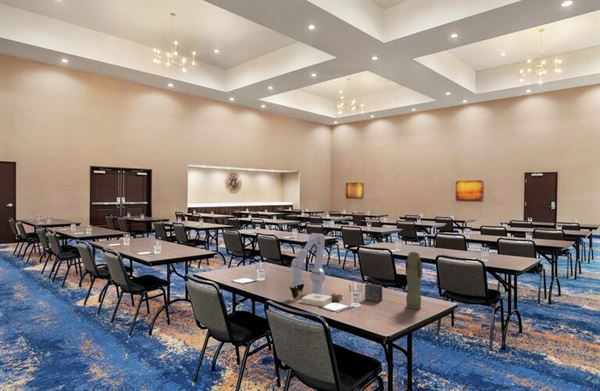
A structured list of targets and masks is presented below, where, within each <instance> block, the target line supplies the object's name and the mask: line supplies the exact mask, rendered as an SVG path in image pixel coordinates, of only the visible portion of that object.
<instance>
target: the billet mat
mask: <svg viewBox="0 0 600 391" xmlns="http://www.w3.org/2000/svg"><path fill="white" fill-rule="evenodd" d="M302 298H303V297H301V300H299V301H297V300H293V297H292V298H289V299H288V301H290V302H295V303H296V302H297V303H302Z"/></svg>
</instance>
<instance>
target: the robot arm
mask: <svg viewBox="0 0 600 391" xmlns="http://www.w3.org/2000/svg"><path fill="white" fill-rule="evenodd" d="M325 241H326V237H325V234H323V233H317V232H316V233H315V232H312V233H310V234H309V236H308V240H307V242H306V244H305V245H304V247H303V249H300V250H299V252H298V253H297V255H296V257H295V258H293V259H292V260H291V267H292V281H291V284H290V286H289V290H290V292H291V296H292V298H296V294H297V290H301V295H302V294H303V290H304V287H305V284H304V280H303V279H302V268H303V266H304V263H305V260H306V258H307V256H308V255H309V254H308V253H309V251H310V250H311V248H312V247H313V245H315V246H316V248H315V249H316V252H315V262H314V268H313V269H311V273H310V277H309V278H310V280H311V282H312V293H314V294H320V295H326V292H325V282H324V281H325V279H326V276H325V275H326V273H325V271H324V269H323V261H324V254H325Z"/></svg>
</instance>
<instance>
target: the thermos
mask: <svg viewBox="0 0 600 391" xmlns="http://www.w3.org/2000/svg"><path fill="white" fill-rule="evenodd" d="M420 256H421V255H420V254H419V252H415V251H414V252H413V251H411V252H409V253H408V255H407V259H406V260H405V275H406V280H407V281H406V282H407V284H406V285H407V288H406V289H407V291H406V292H407V293H406V301H405V302H406V308H407V309H409V310H420V309H421V308H422V306H421V305H422V296H421V281H422V278H423V262H422V261H421V257H420Z"/></svg>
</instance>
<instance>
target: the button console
mask: <svg viewBox="0 0 600 391" xmlns="http://www.w3.org/2000/svg"><path fill="white" fill-rule="evenodd" d="M329 296H332V302H334V303H335V302H336V303H340V302H341V301H342V300H343V294H339V297H334V296H333V293H332V294H330V295H329Z"/></svg>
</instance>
